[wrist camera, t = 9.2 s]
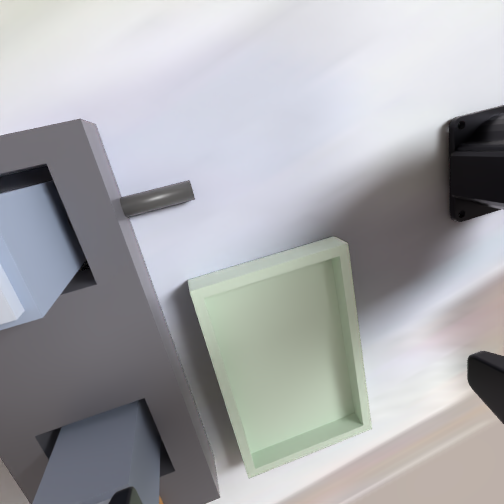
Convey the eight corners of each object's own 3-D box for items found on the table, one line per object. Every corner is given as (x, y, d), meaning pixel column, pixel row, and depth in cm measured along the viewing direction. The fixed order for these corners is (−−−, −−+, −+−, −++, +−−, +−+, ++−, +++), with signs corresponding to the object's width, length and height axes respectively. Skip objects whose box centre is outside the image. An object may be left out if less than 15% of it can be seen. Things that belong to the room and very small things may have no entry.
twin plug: (180, 150, 17) (189, 150, 10) (201, 224, 18) (222, 270, 11) (-32, 200, 15) (-199, 242, 8) (8, 277, 17) (-108, 369, 10)
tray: (334, 236, 20) (348, 243, 19) (359, 411, 25) (371, 428, 24) (187, 279, 19) (189, 291, 17) (243, 456, 24) (248, 478, 22)
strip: (95, 124, 16) (75, 116, 12) (213, 455, 23) (221, 509, 20) (-118, 169, 14) (-207, 176, 11) (80, 507, 22) (64, 574, 18)
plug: (161, 425, 21) (157, 560, 14) (97, 448, 21) (61, 600, 14) (141, 375, 20) (126, 497, 13) (72, 398, 20) (18, 539, 12)
